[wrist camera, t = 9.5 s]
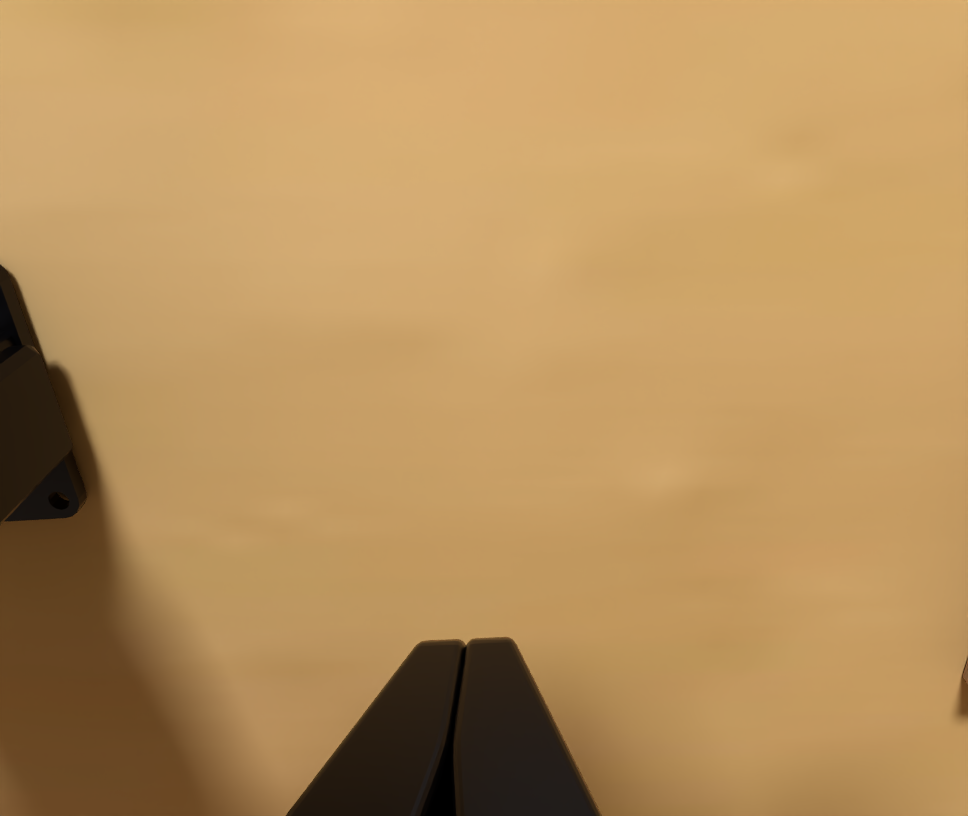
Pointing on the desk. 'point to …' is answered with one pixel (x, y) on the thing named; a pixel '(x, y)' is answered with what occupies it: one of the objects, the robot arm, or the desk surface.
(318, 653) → the desk surface
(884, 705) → the desk surface
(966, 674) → the track board
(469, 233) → the desk surface
